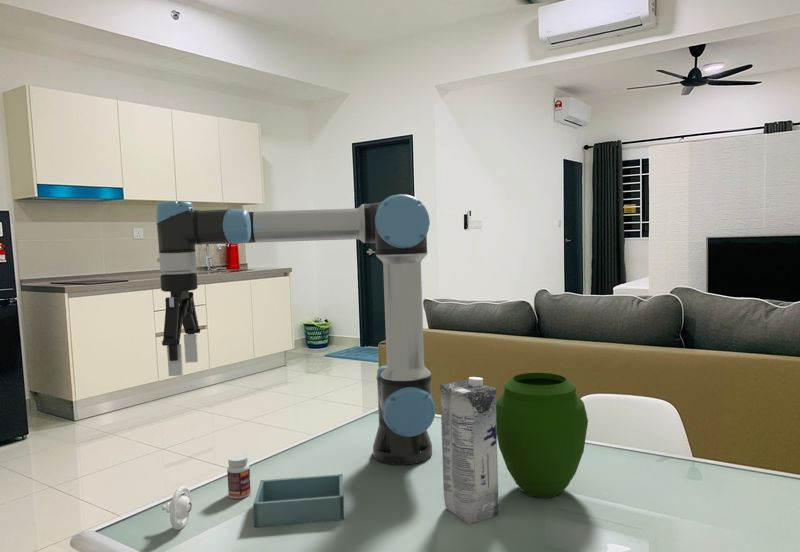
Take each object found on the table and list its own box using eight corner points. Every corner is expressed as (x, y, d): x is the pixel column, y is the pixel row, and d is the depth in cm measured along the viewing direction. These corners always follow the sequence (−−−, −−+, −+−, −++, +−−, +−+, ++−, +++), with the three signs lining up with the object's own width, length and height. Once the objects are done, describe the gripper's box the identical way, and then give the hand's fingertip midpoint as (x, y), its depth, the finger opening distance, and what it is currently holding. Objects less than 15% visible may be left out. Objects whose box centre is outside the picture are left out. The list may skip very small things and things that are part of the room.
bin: (343, 494, 128) (342, 474, 127) (344, 519, 116) (343, 497, 116) (261, 501, 126) (260, 480, 125) (254, 527, 114) (253, 504, 114)
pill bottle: (244, 500, 127) (242, 462, 126) (224, 498, 128) (222, 461, 127) (254, 490, 131) (252, 454, 131) (235, 489, 132) (233, 453, 132)
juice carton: (467, 528, 111) (463, 388, 109) (438, 507, 120) (434, 376, 118) (505, 517, 115) (502, 381, 113) (474, 497, 124) (471, 371, 122)
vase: (594, 479, 131) (593, 371, 129) (582, 518, 113) (580, 394, 112) (508, 467, 139) (506, 366, 138) (484, 502, 122) (481, 386, 120)
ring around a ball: (182, 537, 111) (179, 496, 111) (153, 537, 112) (150, 496, 111) (199, 517, 119) (197, 479, 119) (172, 517, 120) (169, 479, 119)
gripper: (176, 270, 141) (181, 358, 142) (142, 276, 116) (148, 383, 117) (208, 269, 141) (213, 356, 143) (181, 275, 117) (187, 380, 118)
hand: (184, 368), depth 130 cm, fingers open, 13 cm apart
